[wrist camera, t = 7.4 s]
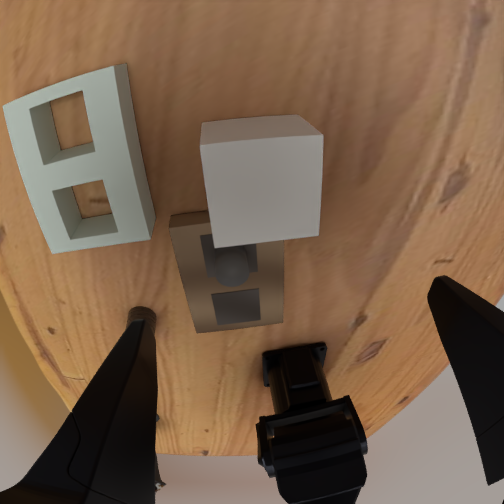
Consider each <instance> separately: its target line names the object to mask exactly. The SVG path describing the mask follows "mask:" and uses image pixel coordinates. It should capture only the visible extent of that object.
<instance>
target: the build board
mask: <svg viewBox="0 0 504 504" xmlns="http://www.w3.org/2000/svg"><path fill="white" fill-rule="evenodd" d="M81 90H83V95H84V100H85V105H86V110H87V115H88V120H89V125H90V130H91V134H92V138H93V142H91V143H87V144H83V145H79V146H76V147H72V148H68V149H65V150H61V149H60V145H59V141H58V137H57V133H56V129H55V125H54V121H53V116H52V111H51V107H50V102H49V101H51V100H54V99H57V98H60V97H63V96H66V95H69V94H72V93H75V92H78V91H81ZM3 110H4V115H5V119H6V123H7V128H8V132H9V135H10V139H11V143H12V146H13V150H14V153H15V157H16V160H17V163H18V167H19V170H20V173H21V176H22V179H23V182H24V185H25V188H26V191H27V193H28V196H29V199H30V201H31V204H32V207H33V209H34V212H35V214H36V217H37V219H38V222H39V224H40V227H41V229H42V232H43V234H44V236H45V239H46V241H47V243H48V245H49V248H50V250H51V252H52V254H55V253H62V252H68V251H75V250H81V249H88V248H95V247H101V246H108V245H115V244H122V243H130V242H137V241H144V240H151V236H152V232H153V228H154V224H155V220H156V215H155V211H154V207H153V203H152V199H151V194H150V190H149V186H148V181H147V177H146V172H145V167H144V162H143V158H142V153H141V148H140V143H139V137H138V132H137V127H136V121H135V115H134V110H133V104H132V97H131V91H130V84H129V78H128V71H127V63H125V64H120V65H115V66H111V67H107V68H103V69H100V70H96V71H93V72H90V73H86V74H83V75H80V76H77V77H74V78H71V79H68V80H65V81H62V82H59V83H56V84H53V85H51V86H48V87H45V88H43V89H40V90H38V91H35V92H33V93H30V94H28V95H26V96H23V97H21V98H19V99H16V100H14V101H12V102H10V103H8V104H5V105H3ZM102 179H103V182H104V186H105V189H106V193H107V196H108V200H109V203H110V206H111V210H112V213H113V214H108V215H102V216H96V217H91V218H85V219H82V217H81V214H80V211H79V208H78V205H77V202H76V199H75V196H74V193H73V190H72V187H71V186H74V185H79V184H83V183H88V182H92V181H97V180H102Z"/></svg>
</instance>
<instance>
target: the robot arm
mask: <svg viewBox="0 0 504 504" xmlns="http://www.w3.org/2000/svg"><path fill="white" fill-rule="evenodd" d="M427 300H428V304H429V307H430V309H431V312H432V315H433V318H434V321H435V324H436V327H437V330H438V333H439V336H440V339H441V342H442V344H443V347H444V349H445V352H446V354H447V356H448V359H449V361H450V364H451V366H452V369H453V372H454V374H455V377H456V379H457V382H458V385H459V388H460V390H461V393H462V396H463V399H464V402H465V405H466V408H467V411H468V414H469V417H470V420H471V423H472V427H473V430H474V433H475V437H476V441H477V444H478V448H479V452H480V456H481V459H482V464H483V468H484V472H485V476H486V481H487V484H488V485H491V484H493V483H495V482H497V481H499V480H501V479H503V478H504V312H503V311H501V310H500V309H498V308H497V307H495V306H494V305H492V304H491V303H489V302H488V301H486V300H485V299H483V298H482V297H480V296H478V295H477V294H475V293H474V292H472V291H471V290H469V289H467V288H466V287H464V286H463V285H461V284H459V283H458V282H456V281H454V280H453V279H451V278H449V277H448V276H445V275H443V276H438V277H435V278H434V280H433V282H432V285H431V287H430V290H429V292H428V296H427ZM326 351H327V346H326V344H325V343H320V344H315V345H309V346H303V347H297V348H291V349H285V350H278V351H272V352H266V353H263V354H262V364H263V380H264V386H265V387H270V390H271V395H272V401H273V406H274V411H275V415H270V416H260V417H259V420H260V422H259V423H257V424H256V431H257V438H258V463H259V464H260V465H261V466H263V467H264V468H265V470H266V471H267V473H268V476H269V477H270V478H272V477H276V481H277V486H278V490H279V493H280V495H281V496H282V498H283V499H284V500H285V501H286V502H287V503H288V504H355V502H356V500H357V497H358V495H359V492H360V489H361V487H363V486H364V484H365V481H366V477H367V471H366V465H365V461H364V457H363V455H364V454H367V451H368V447H367V440H366V436H365V432H364V429H363V426H362V424H361V421H360V419H359V417H358V414H357V412H356V410H355V408H354V405H353V403H352V401H351V399H350V396H349V395H347V396H343V398H339V399H336V400H332V397H331V394H330V390H329V387H328V384H327V381H326V377H325V374H324V371H323V365H324V360H325V356H326ZM157 397H158V383H157V362H156V340H155V336H154V334H153V332H152V330H151V327H150V325H149V323H148V321H147V320H146V319H138V320H133V321H132V322H131V323H130V324H129V326H128V327H127V329H126V330H125V332H124V333H123V334H122V336H121V337H120V339H119V340H118V342H117V343H116V344H115V346H114V347H113V349H112V350H111V352H110V353H109V355H108V356H107V358H106V359H105V360H104V362H103V363H102V365H101V366H100V368H99V369H98V371H97V372H96V374H95V375H94V377H93V378H92V380H91V381H90V383H89V384H88V386H87V387H86V389H85V391H84V392H83V394H82V395H81V397H80V398H79V400H78V401H77V403H76V404H75V406H74V408H73V409H72V412H70V414H69V415H68V417H67V418H66V420H65V422H64V423H63V425H62V426H61V428H60V429H59V431H58V433H57V434H56V435H55V437H54V438H53V439H52V441H51V442H50V444H49V445H48V446H47V448H46V449H45V450H44V452H43V453H42V454H41V456H40V457H39V458H38V459H37V461H36V462H35V463H34V465H33V466H32V467H31V469H30V470H29V471H28V473H27V474H26V475H25V476H24V478H23V479H22V480H21V481H20V482H18V483H17V484H16V485H14V486H13V487H11V488H9V489H6V490H4V491H2V492H0V504H155V441H156V415H157ZM273 436H274V438H273ZM502 504H504V500H503V503H502Z"/></svg>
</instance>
